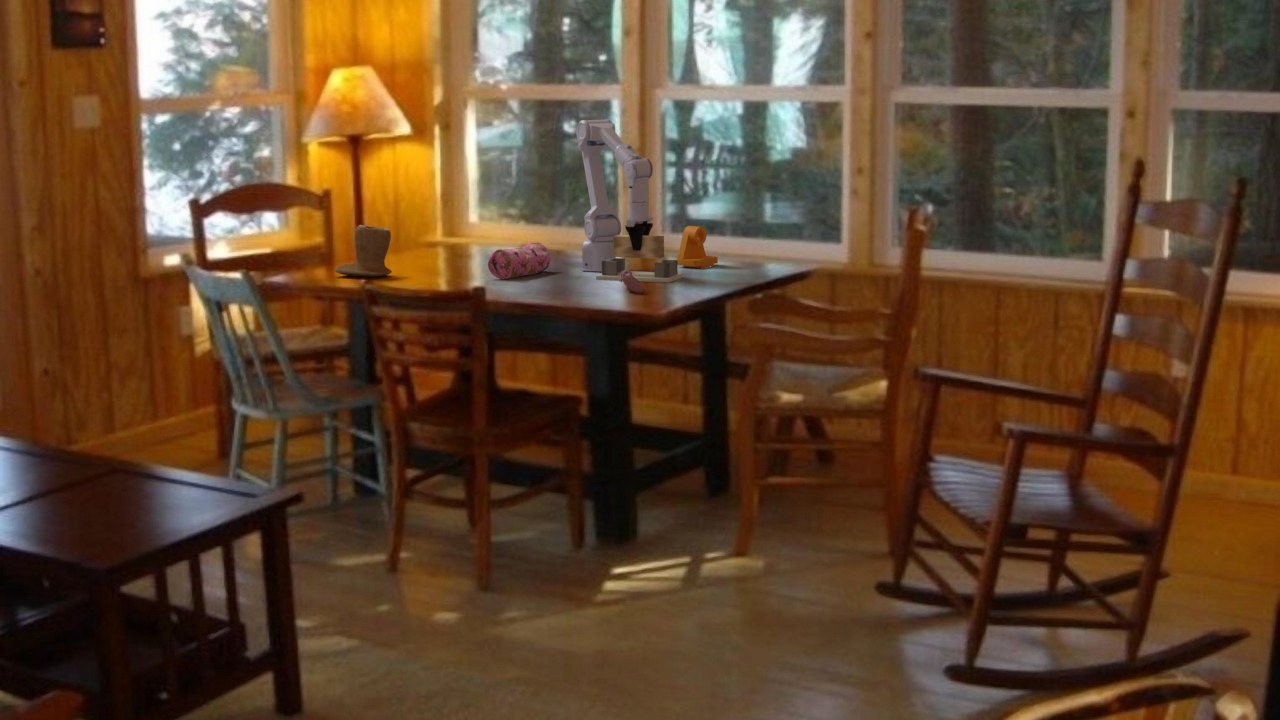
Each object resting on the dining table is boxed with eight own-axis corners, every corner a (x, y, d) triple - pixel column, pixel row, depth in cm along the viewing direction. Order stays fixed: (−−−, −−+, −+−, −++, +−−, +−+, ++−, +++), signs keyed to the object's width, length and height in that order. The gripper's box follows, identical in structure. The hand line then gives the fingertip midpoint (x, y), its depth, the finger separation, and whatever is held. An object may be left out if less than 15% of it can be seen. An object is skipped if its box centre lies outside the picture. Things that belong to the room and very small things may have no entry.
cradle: (596, 279, 492) (595, 261, 491) (611, 273, 503) (611, 256, 502) (668, 282, 484) (668, 264, 483) (683, 276, 495) (683, 259, 494)
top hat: (400, 274, 506) (399, 223, 503) (377, 280, 496) (374, 228, 493) (358, 272, 513) (356, 221, 510) (334, 277, 502) (331, 225, 499)
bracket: (696, 269, 510) (695, 229, 507) (677, 267, 514) (677, 227, 512) (719, 265, 518) (718, 225, 515) (700, 263, 522) (700, 224, 520)
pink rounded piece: (627, 294, 474) (615, 271, 473) (642, 286, 474) (630, 264, 473) (630, 299, 465) (618, 276, 463) (645, 291, 465) (633, 268, 463)
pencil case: (526, 270, 513) (525, 240, 512) (552, 272, 509) (552, 242, 507) (485, 279, 495) (484, 248, 493) (512, 281, 491) (511, 250, 489)
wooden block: (613, 257, 493) (613, 236, 492) (618, 255, 496) (617, 234, 495) (659, 258, 488) (659, 237, 487) (664, 257, 491) (663, 236, 490)
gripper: (643, 204, 481) (643, 253, 484) (661, 199, 494) (661, 246, 497) (619, 203, 483) (620, 252, 486) (637, 199, 497) (638, 246, 499)
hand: (639, 249), depth 492 cm, fingers closed on wooden block, 3 cm apart
